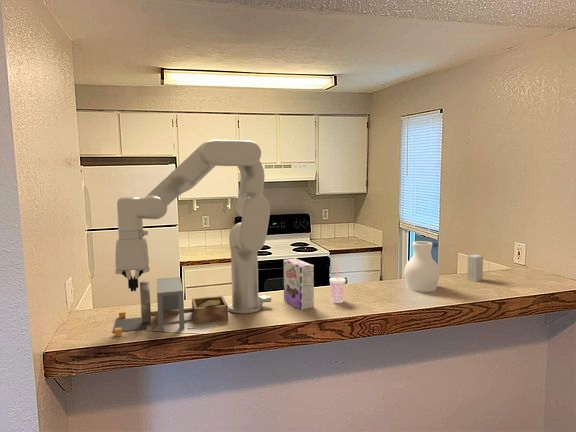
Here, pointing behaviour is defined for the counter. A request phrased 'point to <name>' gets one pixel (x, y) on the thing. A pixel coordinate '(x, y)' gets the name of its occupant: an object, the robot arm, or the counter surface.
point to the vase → (422, 269)
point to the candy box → (299, 283)
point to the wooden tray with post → (198, 313)
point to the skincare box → (475, 268)
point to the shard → (210, 304)
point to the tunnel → (166, 300)
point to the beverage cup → (337, 289)
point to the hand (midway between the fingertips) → (133, 290)
